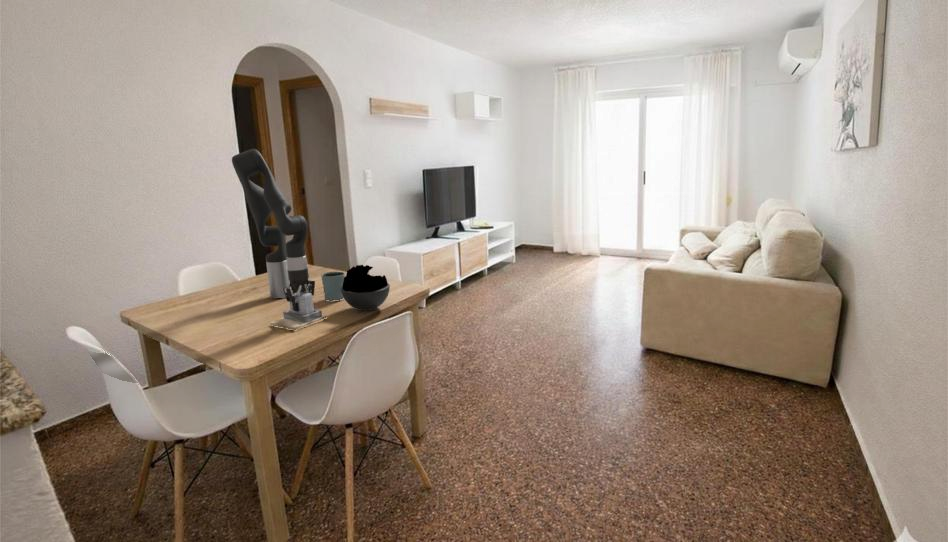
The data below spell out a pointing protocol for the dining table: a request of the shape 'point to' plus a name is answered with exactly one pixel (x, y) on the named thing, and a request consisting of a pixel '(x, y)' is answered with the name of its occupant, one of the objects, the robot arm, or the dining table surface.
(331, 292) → the teal cup
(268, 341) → the dining table surface
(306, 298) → the medicine box
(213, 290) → the dining table surface
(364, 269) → the coal bowl
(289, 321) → the jig
